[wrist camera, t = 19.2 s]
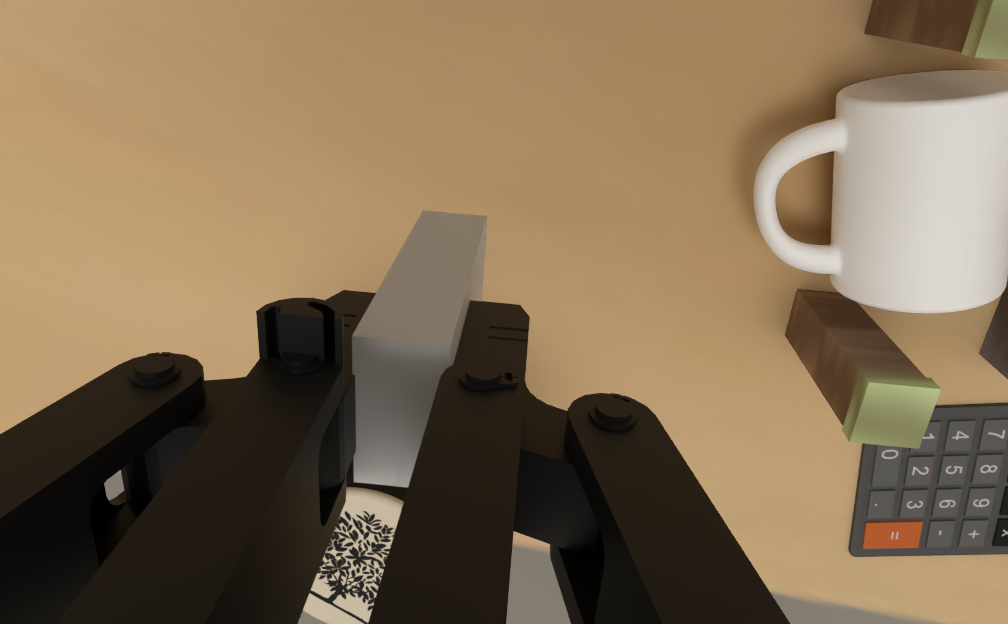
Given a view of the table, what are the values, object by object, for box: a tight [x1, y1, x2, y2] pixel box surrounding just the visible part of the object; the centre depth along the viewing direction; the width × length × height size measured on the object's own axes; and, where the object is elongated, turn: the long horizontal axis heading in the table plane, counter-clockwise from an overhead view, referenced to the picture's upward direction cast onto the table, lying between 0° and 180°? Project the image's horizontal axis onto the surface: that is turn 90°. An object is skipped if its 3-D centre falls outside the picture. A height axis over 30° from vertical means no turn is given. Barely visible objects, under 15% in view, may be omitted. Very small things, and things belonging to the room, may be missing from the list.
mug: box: [753, 70, 1008, 313], centre depth 36 cm, size 12×10×8 cm
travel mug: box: [303, 459, 408, 624], centre depth 38 cm, size 8×8×18 cm
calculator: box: [849, 403, 1008, 557], centre depth 48 cm, size 12×1×15 cm
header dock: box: [785, 0, 1008, 449], centre depth 35 cm, size 20×13×11 cm, turn 176°
